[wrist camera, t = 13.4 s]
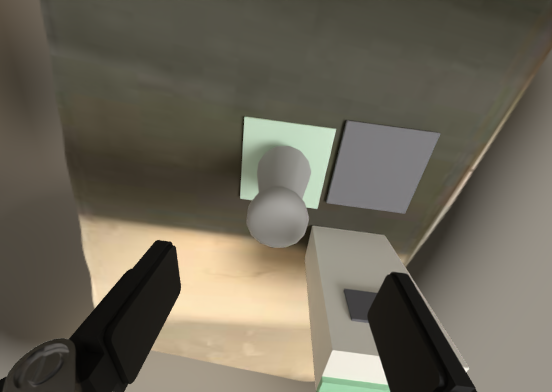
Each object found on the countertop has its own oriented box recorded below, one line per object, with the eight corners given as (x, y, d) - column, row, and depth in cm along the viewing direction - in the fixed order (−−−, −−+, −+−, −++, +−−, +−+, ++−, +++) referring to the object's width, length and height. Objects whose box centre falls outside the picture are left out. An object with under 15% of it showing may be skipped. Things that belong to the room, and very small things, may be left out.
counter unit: (312, 223, 30) (334, 353, 15) (385, 233, 30) (476, 372, 15) (304, 260, 33) (315, 398, 18) (370, 269, 33) (434, 414, 18)
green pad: (245, 116, 24) (244, 116, 24) (334, 128, 24) (336, 129, 24) (240, 196, 29) (240, 198, 28) (316, 206, 29) (317, 208, 28)
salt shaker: (318, 153, 25) (339, 210, 13) (296, 194, 28) (298, 273, 16) (270, 132, 24) (249, 173, 13) (253, 176, 27) (221, 244, 15)
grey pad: (346, 120, 24) (347, 120, 23) (437, 132, 24) (440, 133, 24) (326, 200, 28) (326, 202, 28) (402, 211, 28) (405, 213, 28)
